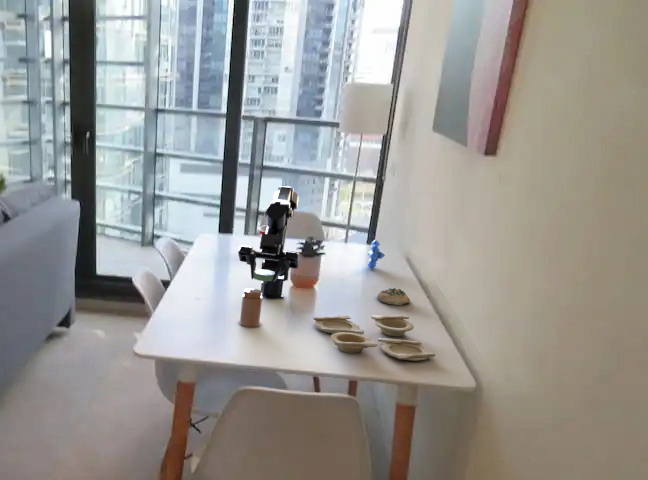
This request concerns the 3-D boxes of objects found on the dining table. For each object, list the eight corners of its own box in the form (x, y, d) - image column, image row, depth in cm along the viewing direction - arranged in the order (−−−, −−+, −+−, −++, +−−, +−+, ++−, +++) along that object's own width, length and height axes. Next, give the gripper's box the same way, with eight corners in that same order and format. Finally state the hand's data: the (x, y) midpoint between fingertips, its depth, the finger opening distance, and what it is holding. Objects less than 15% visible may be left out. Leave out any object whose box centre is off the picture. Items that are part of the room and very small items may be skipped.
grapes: (381, 273, 286) (386, 243, 281) (363, 271, 288) (368, 241, 283) (383, 266, 296) (388, 237, 291) (366, 264, 298) (371, 236, 293)
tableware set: (310, 319, 228) (311, 307, 226) (402, 323, 228) (404, 311, 226) (332, 360, 196) (334, 346, 194) (440, 366, 196) (443, 352, 194)
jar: (254, 320, 225) (257, 287, 221) (262, 326, 219) (266, 293, 215) (236, 321, 223) (239, 288, 219) (244, 327, 218) (247, 294, 214)
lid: (251, 279, 221) (252, 273, 221) (254, 274, 227) (254, 268, 226) (273, 282, 220) (274, 276, 219) (275, 276, 226) (276, 270, 225)
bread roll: (382, 293, 258) (386, 280, 256) (412, 303, 253) (416, 290, 250) (371, 301, 250) (375, 288, 247) (402, 312, 245) (406, 299, 242)
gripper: (242, 219, 223) (230, 262, 218) (302, 226, 217) (291, 270, 212) (245, 239, 233) (234, 281, 228) (303, 246, 227) (292, 289, 222)
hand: (262, 280), depth 222 cm, fingers closed on lid, 6 cm apart
